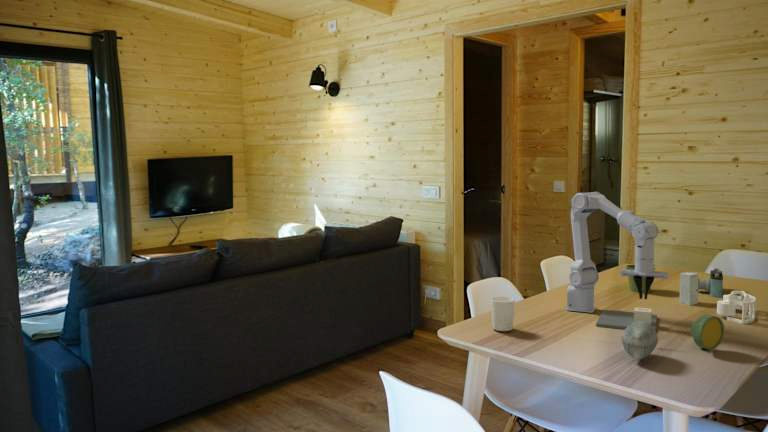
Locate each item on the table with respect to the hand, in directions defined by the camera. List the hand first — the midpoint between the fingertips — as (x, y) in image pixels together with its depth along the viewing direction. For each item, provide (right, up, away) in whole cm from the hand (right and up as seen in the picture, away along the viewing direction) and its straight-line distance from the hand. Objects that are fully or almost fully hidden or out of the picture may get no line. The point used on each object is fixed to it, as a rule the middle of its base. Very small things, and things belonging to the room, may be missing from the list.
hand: (643, 298), depth 194 cm
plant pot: (+20, -5, +48) cm, 52 cm away
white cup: (-47, -10, +1) cm, 48 cm away
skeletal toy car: (+39, -8, +11) cm, 41 cm away
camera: (+47, -5, +44) cm, 64 cm away
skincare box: (+30, -7, +28) cm, 42 cm away
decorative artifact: (+8, -12, -21) cm, 25 cm away
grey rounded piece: (-13, -12, -26) cm, 31 cm away
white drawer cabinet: (0, -8, +1) cm, 8 cm away
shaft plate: (-3, -9, +6) cm, 11 cm away
